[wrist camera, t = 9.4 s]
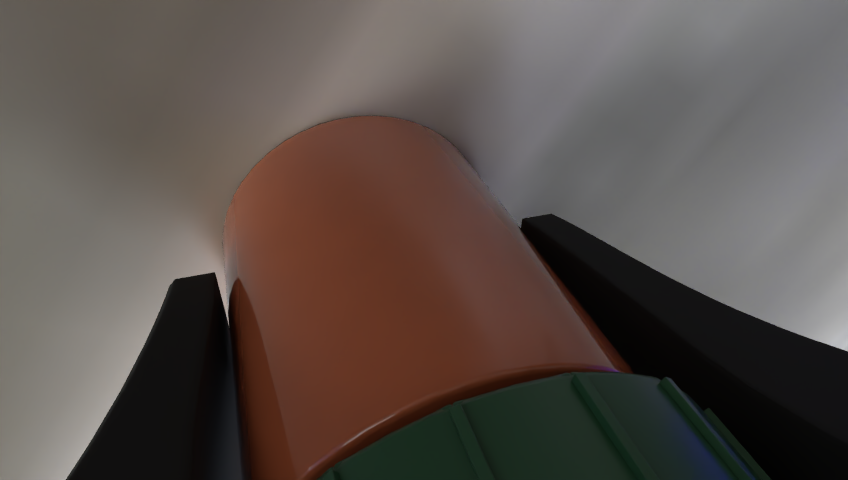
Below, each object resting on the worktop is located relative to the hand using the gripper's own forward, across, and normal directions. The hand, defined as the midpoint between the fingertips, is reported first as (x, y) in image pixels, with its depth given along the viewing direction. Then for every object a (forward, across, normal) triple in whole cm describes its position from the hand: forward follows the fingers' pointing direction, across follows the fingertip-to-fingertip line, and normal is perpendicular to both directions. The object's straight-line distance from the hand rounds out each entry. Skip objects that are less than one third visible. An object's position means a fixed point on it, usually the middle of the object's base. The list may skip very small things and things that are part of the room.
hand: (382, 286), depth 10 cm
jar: (+2, 0, 0) cm, 2 cm away
